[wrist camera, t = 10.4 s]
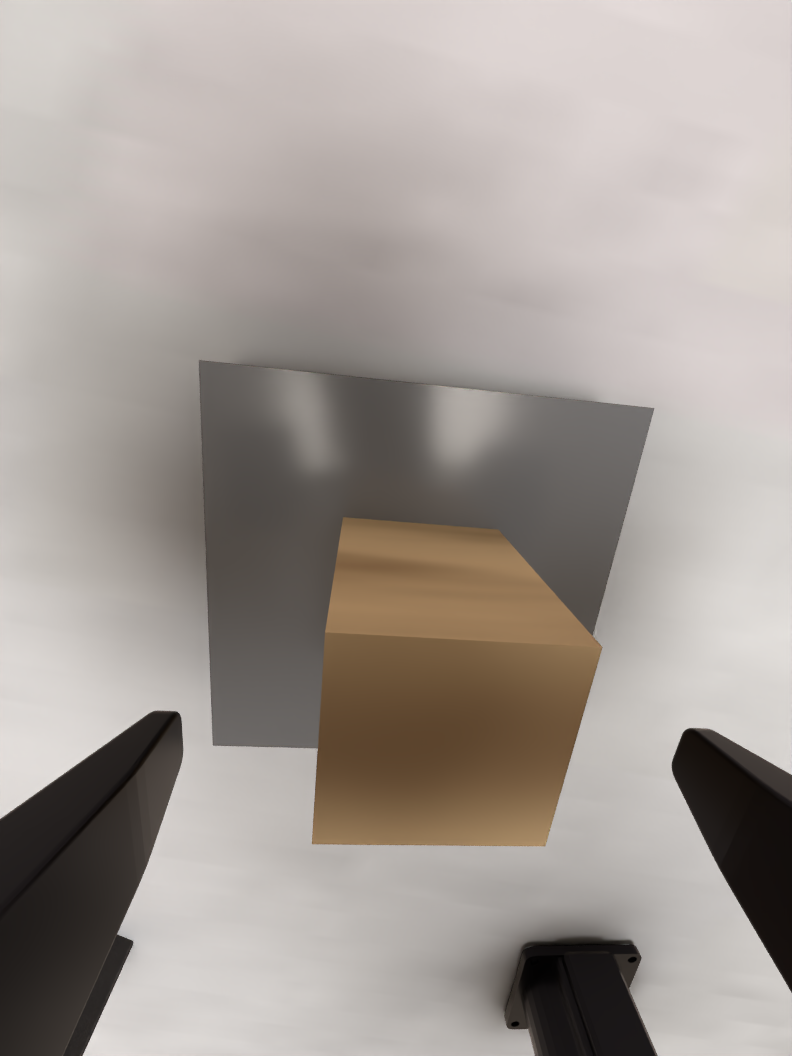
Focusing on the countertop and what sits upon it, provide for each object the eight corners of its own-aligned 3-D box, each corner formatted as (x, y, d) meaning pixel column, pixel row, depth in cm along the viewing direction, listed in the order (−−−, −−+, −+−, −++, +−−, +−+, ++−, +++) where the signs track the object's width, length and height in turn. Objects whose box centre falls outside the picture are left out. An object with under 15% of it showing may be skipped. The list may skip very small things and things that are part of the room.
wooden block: (473, 661, 14) (545, 846, 9) (333, 654, 14) (312, 844, 8) (497, 529, 13) (602, 647, 7) (343, 517, 12) (325, 631, 7)
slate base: (530, 697, 19) (560, 754, 16) (237, 686, 18) (212, 745, 15) (599, 402, 15) (654, 408, 12) (232, 364, 14) (198, 360, 11)
